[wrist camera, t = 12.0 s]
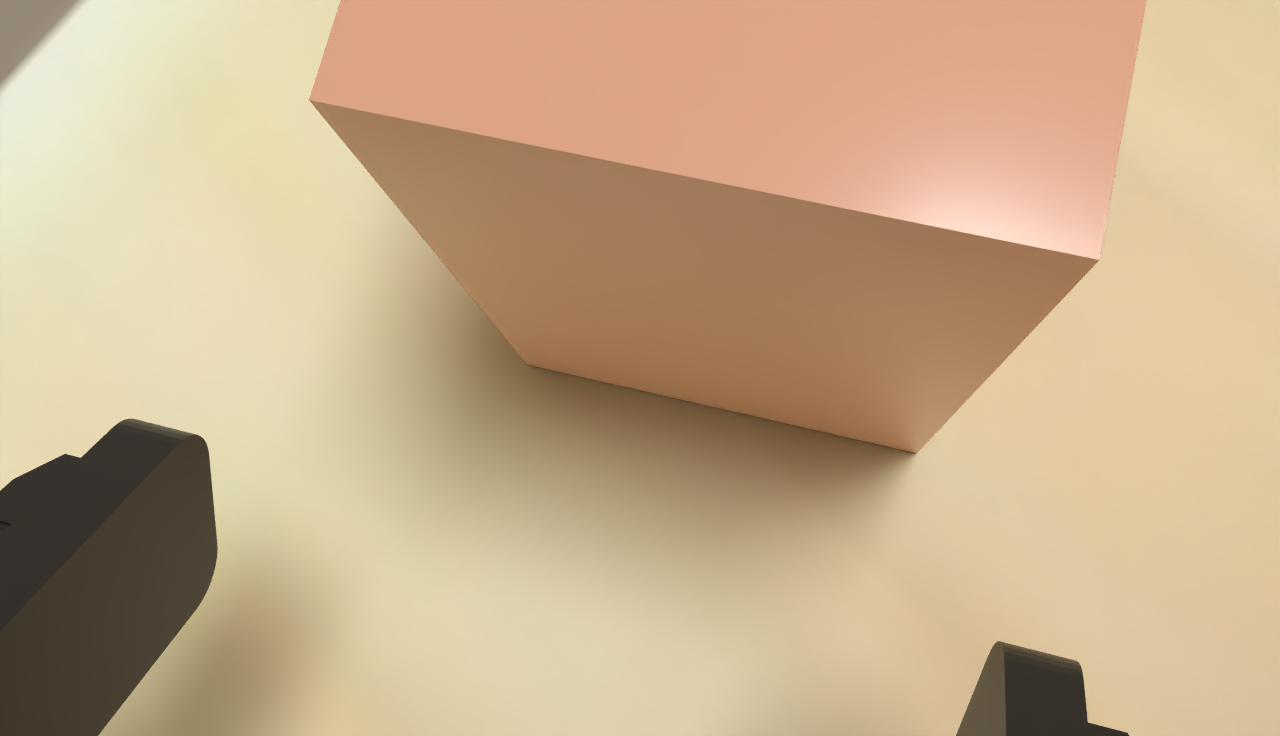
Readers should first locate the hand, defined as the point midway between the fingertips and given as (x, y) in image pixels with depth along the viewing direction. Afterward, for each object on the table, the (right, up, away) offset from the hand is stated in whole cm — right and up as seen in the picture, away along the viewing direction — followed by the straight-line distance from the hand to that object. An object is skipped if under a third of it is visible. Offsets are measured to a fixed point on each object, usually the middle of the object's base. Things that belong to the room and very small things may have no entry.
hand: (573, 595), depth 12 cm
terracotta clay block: (+3, +6, +8) cm, 10 cm away
